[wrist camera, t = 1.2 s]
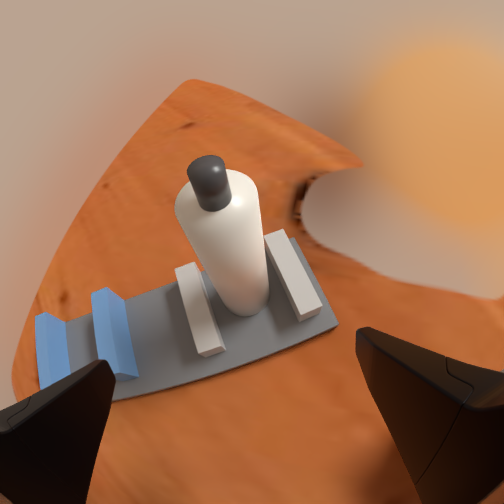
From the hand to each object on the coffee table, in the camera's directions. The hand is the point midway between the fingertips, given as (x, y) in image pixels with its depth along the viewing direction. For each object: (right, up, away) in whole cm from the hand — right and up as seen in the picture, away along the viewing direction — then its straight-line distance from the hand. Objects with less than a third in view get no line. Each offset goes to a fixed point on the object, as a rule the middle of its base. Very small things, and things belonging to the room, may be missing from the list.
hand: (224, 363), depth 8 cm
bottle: (0, 0, +14) cm, 14 cm away
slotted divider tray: (-7, -4, +14) cm, 16 cm away
